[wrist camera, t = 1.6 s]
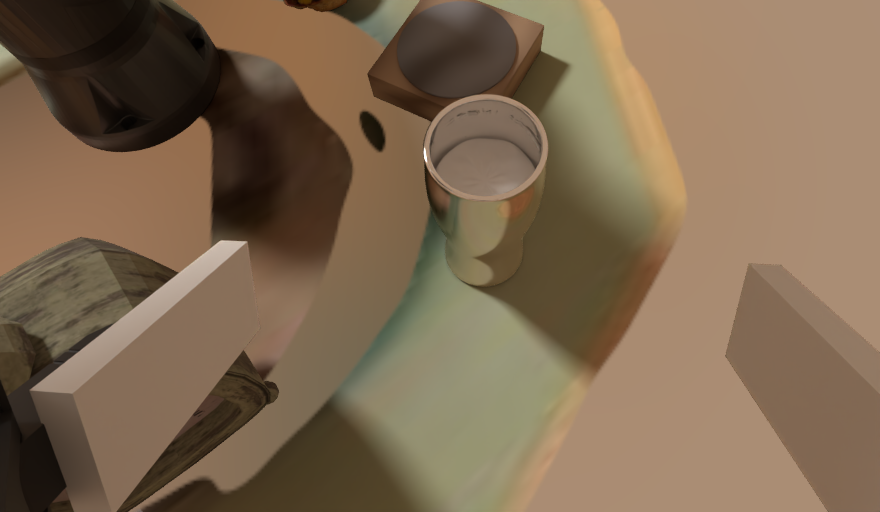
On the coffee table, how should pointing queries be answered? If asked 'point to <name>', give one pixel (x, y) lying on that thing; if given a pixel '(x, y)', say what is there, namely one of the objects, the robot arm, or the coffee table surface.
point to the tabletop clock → (94, 307)
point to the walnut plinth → (454, 55)
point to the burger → (315, 4)
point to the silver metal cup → (485, 183)
